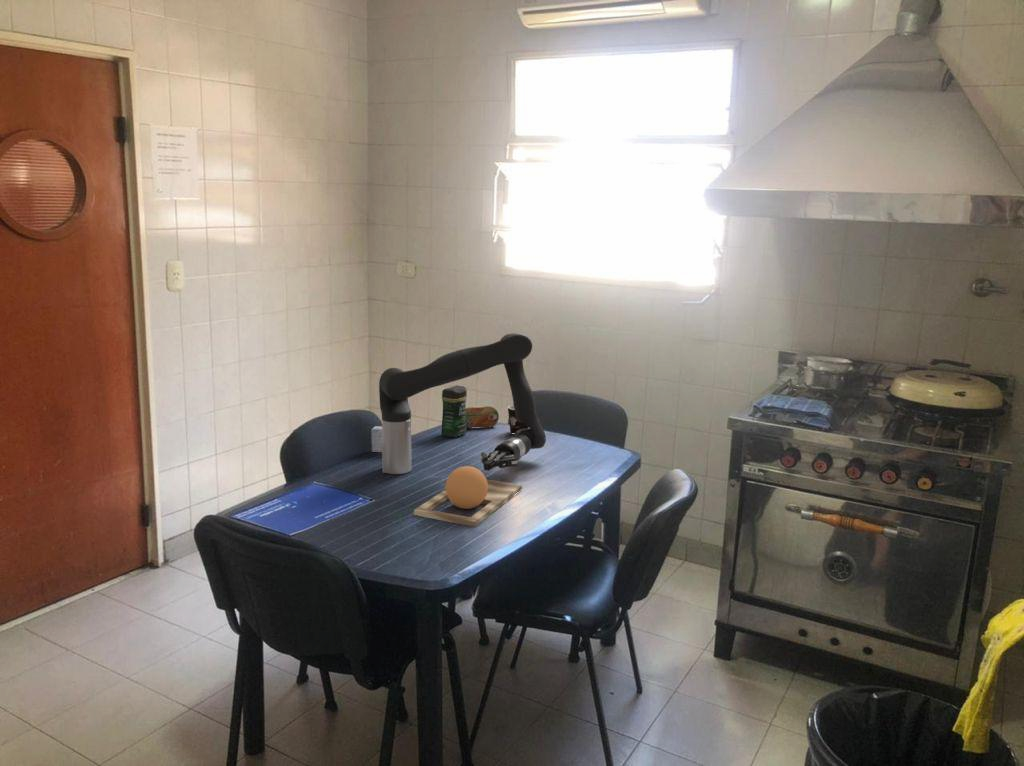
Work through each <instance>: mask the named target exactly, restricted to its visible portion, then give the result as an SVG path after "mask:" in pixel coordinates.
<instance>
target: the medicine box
mask: <svg viewBox="0 0 1024 766" xmlns="http://www.w3.org/2000/svg"><path fill="white" fill-rule="evenodd" d="M370 433H371V453H372V452H382V425H381V426H380V425H379V426H376V425H375V426H374V427H372V429H371V432H370Z"/></svg>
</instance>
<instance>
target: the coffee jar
mask: <svg viewBox="0 0 1024 766" xmlns="http://www.w3.org/2000/svg"><path fill="white" fill-rule="evenodd" d="M467 391H468V390H467V388H466V387H465V386H462V385H454V386H450V387H447V388H444V389H443V390H442V392H441V399H442V400H441V401H442V418H441V419H442V420H441V435H442V436H443V437H445V436H447V437H446V438H449V437H450V438H459V437H462V436H463V435H466V434H467V428H466V408H467V407H466V403H467V397H468V396H467V395H468V394H467V393H468V392H467ZM465 433H466V434H465ZM461 435H462V436H461ZM458 436H459V437H458Z"/></svg>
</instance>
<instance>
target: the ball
mask: <svg viewBox="0 0 1024 766" xmlns="http://www.w3.org/2000/svg"><path fill="white" fill-rule="evenodd" d="M486 479H487V478H486V476H485V475H484V473H483V472H482V471H481V470H480V469H478V468H476V467H474V466H468V465H463V466H460V467H457V468H456V469H454V470H453V471H452V472H451V473H450V474H449V475H448V477H447V479H446V482H445V489H446V494H447V497H448V498H449V499H448V501H450V502H451V504H453V505H454V506H455V507H457V508H459V509H464V510H467V509H468V510H469V509H473V508H476V507H477V506H480V505H481V504H480V503H481V502H482V501H483V500H484V499H485V497H486V495H487V491H488V484H487V480H488V479H487V480H486Z"/></svg>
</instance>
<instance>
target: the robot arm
mask: <svg viewBox="0 0 1024 766" xmlns="http://www.w3.org/2000/svg"><path fill="white" fill-rule="evenodd" d="M532 350H533V343H532V340H531V338H529V336H528V335H525V334H524V333H521V332H513V333H507V334H504V335H503V336H502V337H501V338H500V340H497V341H496V342H493V343H490V344H485V345H479V346H478V345H477V346H473V347H466V348H462V349H458V350H455V351H452V352H448V353H446V354H444V355H441V356H440V357H438V358H436V359H434V360H433V361H432V362H430V363H429V364H427V365H424V366H422V367H420V368H419V367H418V368H416V369H411V370H406V371H404V370H402V369H401V368H397V367H389V368H387V369H385V370H384V371H383V372H382V374H381V375H380V377H379V382H378V384H379V385H378V393H379V408H380V412H381V426H382V453H381V461H382V462H381V463H382V467H381V470H382V471H381V472H382V473H383V474H389V475H403V474H407V473H409V472H411V471H412V469H413V468H412V465H413V463H412V411H411V407H410V405H409V401H408V400H409V399H408V398H412V397H413V396H415V395H417V394H419V393H422V392H424V391H426V390H429V389H431V388H436V387H439V386H442V385H447V384H450V383H452V382H456V381H461V380H463V379H466V378H469V377H472V376H474V375H476V374H480V373H481V372H485V371H486V370H488V369H492V368H493V367H496V366H500V365H504V369H505V372H506V376H507V380H508V382H509V383H508V384H509V387H510V390H511V397H512V402H513V405H514V409H515V413H516V414H515V415H516V419H517V421H518V422H521V423H526V424H528V425H529V427H528V429H520V430H518V431H516V432H515V434H514V435H512V437H511V438H509V439H506V440H505V441H503V442H501V443H500V444H498V445H497V446H496V447H495V448H494V449H493V451H491V452H489V453H488V454H487V453H486V452H484V451H482V452H480V461H481V463H482V465H483V470H484V471H491V470H493V469H496V468H499V469H505V468H511V467H517V466H518V461H519V460H521V459H522V458H523V457H524V456H525V455H527V454H528V453H529V452H530V450H535V449H542V448H543V447H544V446H545V445H546V441H547V437H546V432H545V430H544V428H543V426H542V424H541V422H540V419H539V417H538V415H537V410H536V403H535V397H534V394H533V391H532V389H531V386H530V384H529V381H528V379H527V376H526V373H525V369H524V364H523V363H524V360H525V359H527V358H528V357H529V355H530V354H531V352H532Z"/></svg>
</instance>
